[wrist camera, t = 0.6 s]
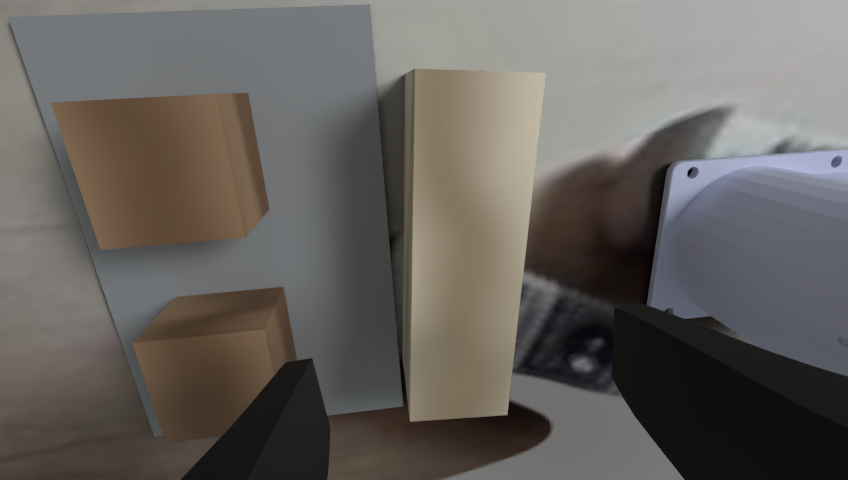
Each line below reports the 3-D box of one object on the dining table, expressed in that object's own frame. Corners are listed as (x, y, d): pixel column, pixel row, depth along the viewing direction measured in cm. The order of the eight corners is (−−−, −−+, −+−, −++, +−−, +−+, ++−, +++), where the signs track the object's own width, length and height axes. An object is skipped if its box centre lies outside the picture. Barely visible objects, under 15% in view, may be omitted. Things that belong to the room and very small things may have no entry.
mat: (369, 6, 15) (369, 4, 15) (402, 402, 22) (403, 406, 21) (15, 18, 14) (7, 17, 14) (157, 432, 20) (154, 437, 20)
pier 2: (283, 286, 18) (264, 329, 15) (299, 372, 20) (284, 427, 17) (176, 296, 18) (132, 343, 15) (200, 383, 19) (165, 442, 16)
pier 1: (248, 92, 16) (215, 93, 12) (269, 209, 17) (245, 237, 14) (119, 99, 15) (50, 102, 12) (153, 218, 17) (100, 249, 13)
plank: (502, 77, 17) (545, 73, 13) (480, 350, 21) (507, 414, 17) (404, 74, 17) (415, 69, 12) (402, 354, 21) (409, 421, 17)
